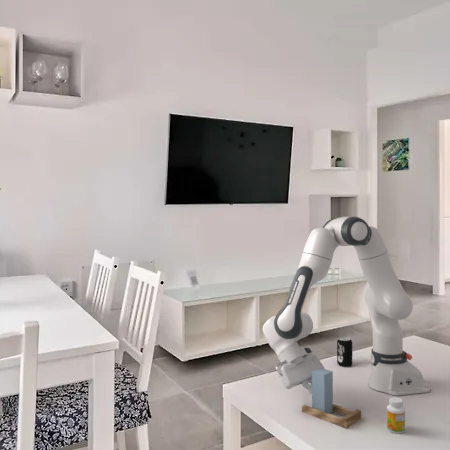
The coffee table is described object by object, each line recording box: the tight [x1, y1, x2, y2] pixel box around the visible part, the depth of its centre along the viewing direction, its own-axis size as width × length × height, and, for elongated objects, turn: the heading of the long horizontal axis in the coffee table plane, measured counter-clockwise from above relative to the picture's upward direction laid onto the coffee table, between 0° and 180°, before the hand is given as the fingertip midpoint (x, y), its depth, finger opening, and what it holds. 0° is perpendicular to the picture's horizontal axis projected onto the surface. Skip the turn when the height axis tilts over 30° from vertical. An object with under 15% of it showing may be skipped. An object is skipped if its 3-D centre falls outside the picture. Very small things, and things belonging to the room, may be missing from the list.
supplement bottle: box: [386, 396, 406, 435], centre depth 148 cm, size 5×5×10 cm
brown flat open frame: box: [301, 403, 362, 429], centre depth 159 cm, size 18×9×3 cm, turn 44°
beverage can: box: [336, 336, 353, 368], centre depth 208 cm, size 7×7×12 cm
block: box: [311, 368, 334, 414], centre depth 162 cm, size 5×5×14 cm
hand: (314, 391), depth 164 cm, fingers closed, pressing on block
